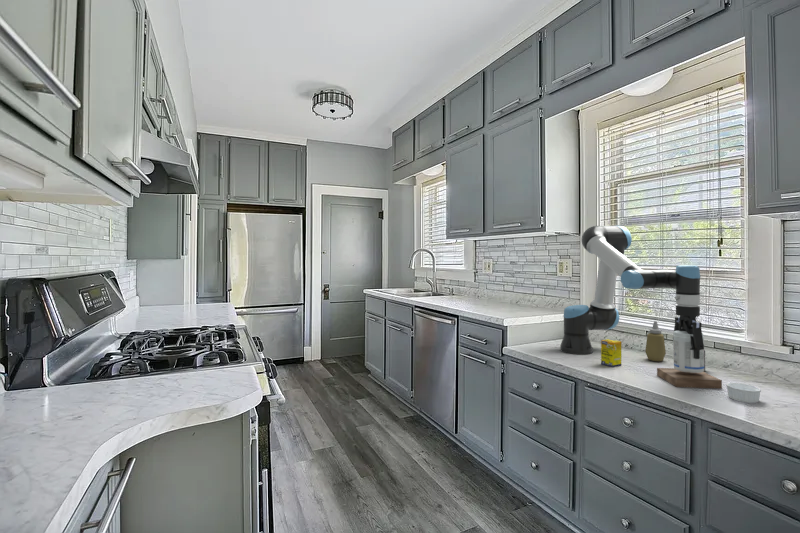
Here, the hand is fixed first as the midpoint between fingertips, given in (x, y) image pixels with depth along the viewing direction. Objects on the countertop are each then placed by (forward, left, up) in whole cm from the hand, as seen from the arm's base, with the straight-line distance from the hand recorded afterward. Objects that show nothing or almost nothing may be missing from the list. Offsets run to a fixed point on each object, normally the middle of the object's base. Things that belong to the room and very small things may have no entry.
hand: (687, 363), depth 153 cm
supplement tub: (0, 0, -3) cm, 3 cm away
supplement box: (-22, -20, -7) cm, 31 cm away
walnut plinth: (0, 0, -7) cm, 7 cm away
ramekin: (+18, +8, -7) cm, 21 cm away
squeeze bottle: (-33, +3, -7) cm, 34 cm away
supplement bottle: (-18, +12, -7) cm, 23 cm away
